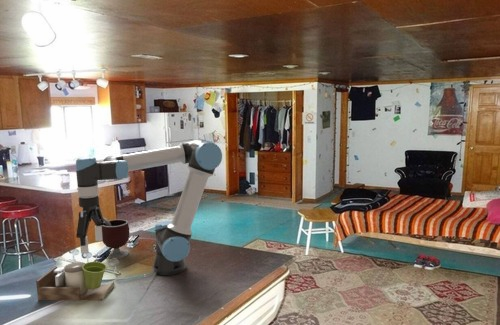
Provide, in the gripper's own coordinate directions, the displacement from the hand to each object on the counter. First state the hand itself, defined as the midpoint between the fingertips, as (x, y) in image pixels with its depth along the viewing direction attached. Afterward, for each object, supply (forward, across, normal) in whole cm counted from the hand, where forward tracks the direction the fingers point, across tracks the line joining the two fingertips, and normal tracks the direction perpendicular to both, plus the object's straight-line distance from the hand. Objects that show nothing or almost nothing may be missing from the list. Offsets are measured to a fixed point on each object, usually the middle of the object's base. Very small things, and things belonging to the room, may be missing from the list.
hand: (92, 246), depth 162 cm
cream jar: (+20, 0, -8) cm, 21 cm away
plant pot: (+17, 0, -1) cm, 17 cm away
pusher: (+19, 0, -14) cm, 24 cm away
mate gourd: (+21, -44, -8) cm, 49 cm away
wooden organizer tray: (+21, 0, -7) cm, 22 cm away
